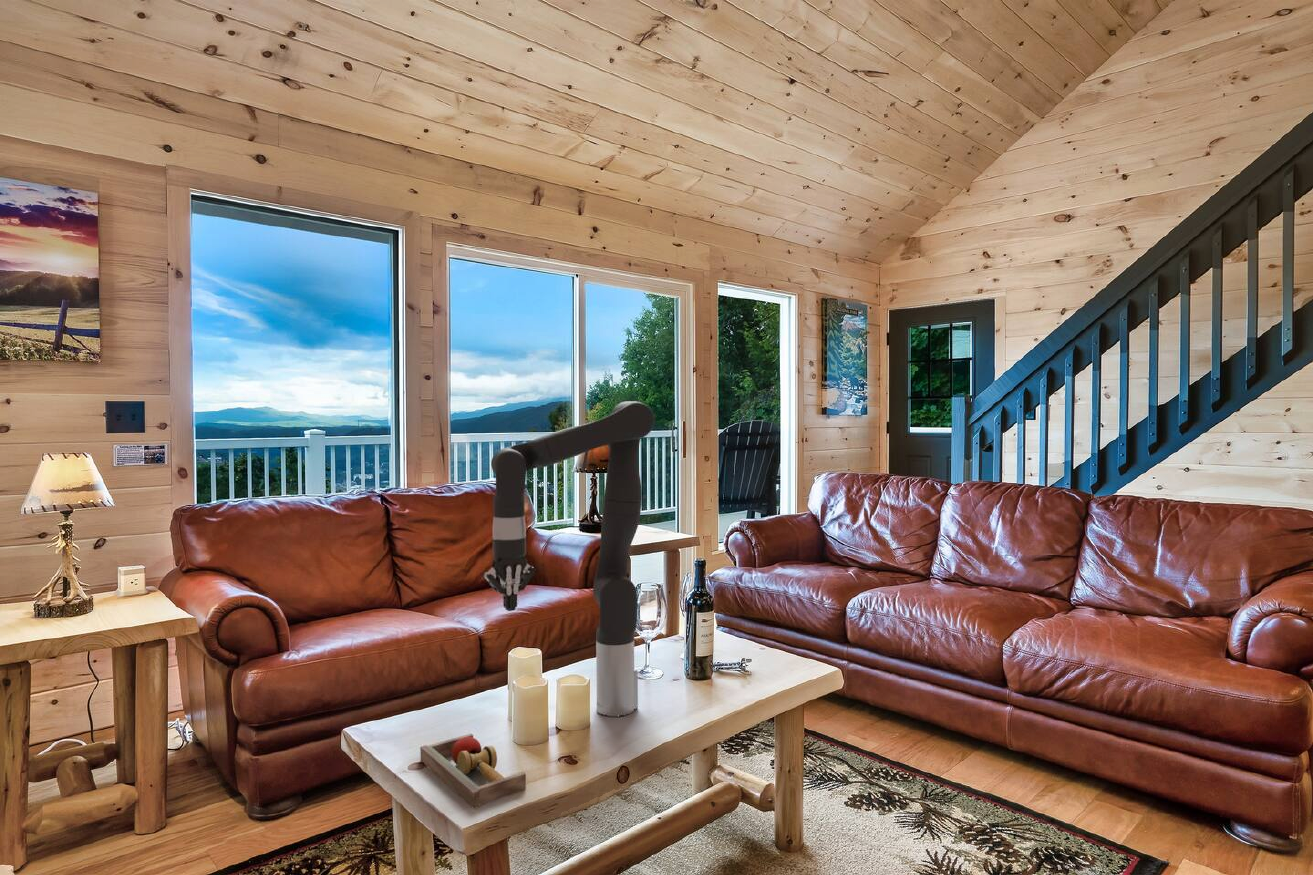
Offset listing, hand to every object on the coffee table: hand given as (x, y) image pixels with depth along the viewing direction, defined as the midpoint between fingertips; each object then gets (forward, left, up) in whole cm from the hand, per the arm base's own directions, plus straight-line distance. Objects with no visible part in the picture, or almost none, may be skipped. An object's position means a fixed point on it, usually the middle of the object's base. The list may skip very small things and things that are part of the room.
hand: (510, 609), depth 182 cm
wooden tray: (+18, +17, -27) cm, 36 cm away
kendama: (+17, +19, -28) cm, 37 cm away
